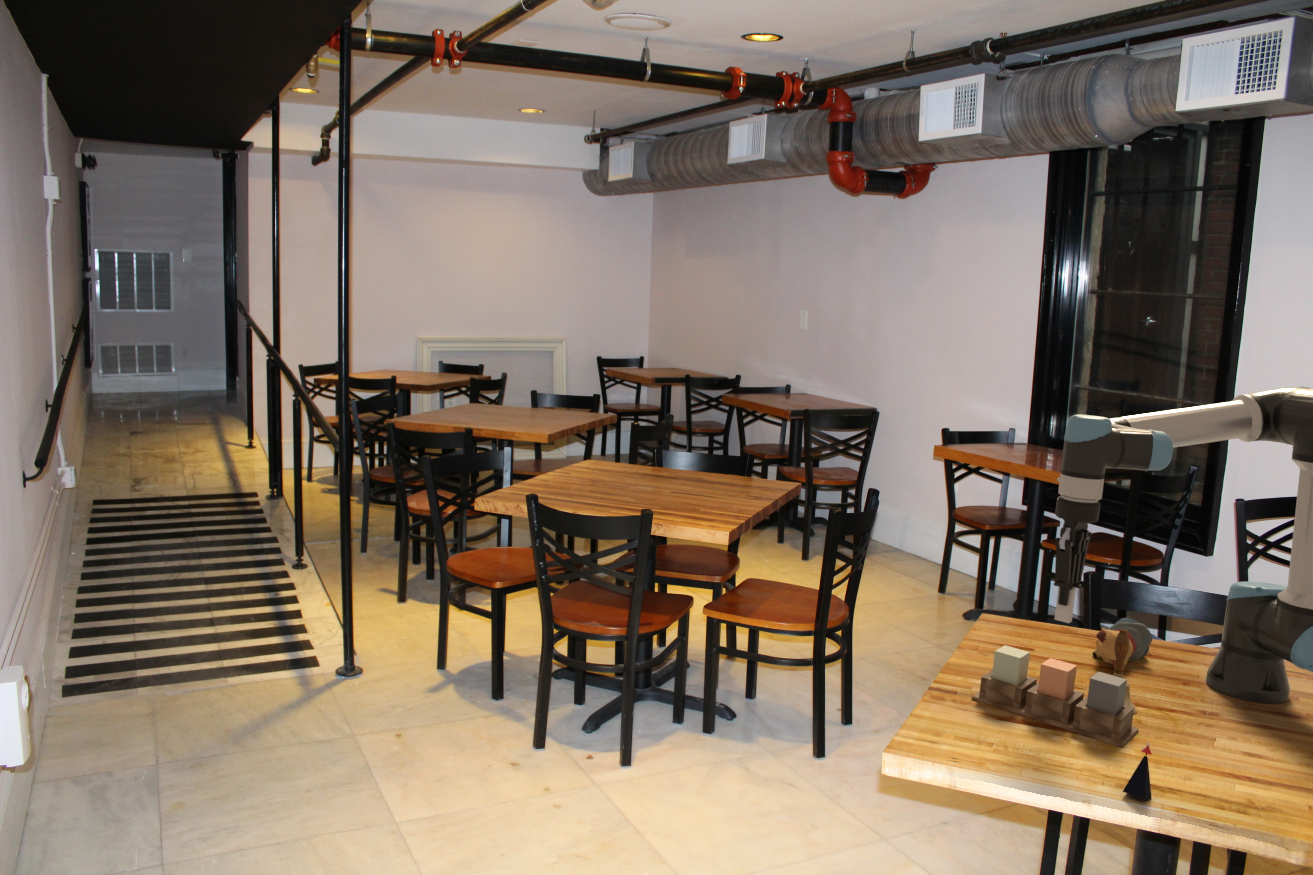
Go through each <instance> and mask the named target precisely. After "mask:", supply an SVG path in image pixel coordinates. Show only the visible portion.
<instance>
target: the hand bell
mask: <svg viewBox="0 0 1313 875" xmlns="http://www.w3.org/2000/svg"><path fill="white" fill-rule="evenodd" d="M1114 650H1115V656H1116V662H1115V668H1114V667H1113V668H1114V669H1113V676H1116V677H1120V678H1123V679H1124V669H1125V668H1124V661H1125V658H1126V656H1127V654H1128V650H1129V637H1128V632H1127V630H1126V629H1120V632H1119V634H1118V635H1117V637H1116V640H1115V646H1114ZM1130 693H1131V691H1130V682H1129V681H1128V680H1127V683H1126V691H1125V698H1124V705H1127V706H1130V707H1134V713H1133V716H1134V715H1136V713H1138V709H1137V707H1136V705H1135V704H1134V703H1133V701H1132V698H1131V694H1130Z"/></svg>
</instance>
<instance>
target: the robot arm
mask: <svg viewBox="0 0 1313 875" xmlns="http://www.w3.org/2000/svg"><path fill="white" fill-rule="evenodd" d="M1235 439H1236V440H1237V439H1238V440H1240V441H1242V442H1244V443H1245V442H1246V443H1250V442H1258V441H1260V442H1261V441H1262V442H1275V443H1281V444H1285V445H1290V446H1292V454H1291V460H1292V461H1293V463H1295V464H1296V466H1297V467H1298V468H1299V475H1298V486H1297V492H1296V503H1295V504H1296V505H1295V514H1294V521H1293V522H1294V524H1293V532H1292V541H1291V550H1290V559H1289V560H1290V561H1289V570H1288V578H1287V579H1288V580H1287V586H1286V585H1282V584H1277V583H1271V582H1270V583H1268V582H1261V581H1259V582H1258V581H1236V582H1234V583H1232V584H1231V585H1230V587H1229V590H1228V595H1227V597H1226V605H1225V612H1224V617H1223V618H1224V620H1223V628H1222V633H1221V634H1222V635H1221V640H1220V641H1221V642H1220V647H1219V650H1218V651H1217V653H1216V655H1215V656H1214V658H1213V660H1212V661H1211V663H1210V665H1209V667H1208V669H1207V671H1206V678H1205V682H1206V683H1207V684H1208V686H1209V687H1211V688H1212V689H1214V690H1216V691H1217V692H1220V693H1222V694H1225V695H1228V696H1230V697H1233V698H1235V699H1236V698H1237V699H1241V700H1245V701H1250V702H1256V703H1261V704H1283V703H1285V702H1288V701H1289V699H1290V697H1289V696H1290V691H1291V689H1290V688H1291V687H1290V683H1289V679H1288V674H1287V669H1286V665H1285V664H1286V663H1285V661H1287V662H1289V663H1291V664H1293V665H1294V666H1296V667H1297V668H1299V669H1302V670H1305V671H1309V672H1311V673H1313V388H1312V387H1304V386H1290V387H1283V388H1282V387H1281V388H1275V389H1270V390H1269V389H1268V390H1263V391H1258V392H1257V391H1256V392H1252V393H1245V394H1240V395H1237V396H1235V397H1234V398H1233V399H1232V400H1231V401H1225V402H1224V401H1223V402H1218V403H1209V404H1205V405H1204V404H1203V405H1198V406H1197V405H1196V406H1191V407H1183V408H1174V409H1167V410H1161V411H1155V412H1147V413H1141V414H1135V415H1134V414H1133V415H1127V416H1126V415H1125V416H1120V417H1112V418H1108V417H1105V416H1098V415H1089V414H1073V415H1071V416H1070V417H1069V418H1068V420H1067V425H1066V426H1065V432H1064V436H1063V440H1064V441H1063V442H1064V443H1063V449H1062V459H1061V467H1060V468H1061V469H1060V476H1059V477H1057V478H1056V481H1057V482H1058V483H1059V484H1058V495H1060V496H1058V497H1057V499H1056V504H1055V512H1054V514H1055V516H1056V517H1057V518H1059V519H1062V520H1063V526H1062V527H1061V528H1060V533H1059V534H1060V535H1059V537H1055V540H1054V541H1055V542H1054V543H1055V566H1054V568H1055V570H1054V572H1055V573H1054V582H1053V586H1055V587H1058V588H1057V597H1056V604H1055V605H1056V606H1055V612H1054V618H1053V619H1054V620H1055V621H1059V622H1062V623H1066V624H1070V623H1072V622H1073V614H1074V607H1075V600H1076V592H1077V589H1081V588H1082V586H1083V585H1082V584H1080V583H1081V582H1082V578H1083V573H1084V568H1085V562H1086V559H1087V553H1088V549H1089V544H1090V542H1091V538H1092V535H1093V534H1092V531H1089V530H1088V527H1089V524H1092V523H1097V522H1098V521H1099V518H1100V513H1101V512H1100V511H1101V505H1102V504H1101V503H1100V500H1102V498H1103V493H1104V492H1103V491H1104V481H1105V474H1106V469H1117V470H1118V469H1122V470H1136V471H1144V472H1148V471H1162V470H1164V469H1165V468H1167V467H1168V466H1169V465H1170V463H1171V461H1172V458H1173V452H1174V448H1178V447H1179V448H1180V447H1187V446H1192V445H1193V446H1194V445H1200V444H1201V445H1202V444H1207V443H1216V442H1222V441H1229V440H1235Z"/></svg>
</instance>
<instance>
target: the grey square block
mask: <svg viewBox="0 0 1313 875" xmlns="http://www.w3.org/2000/svg"><path fill="white" fill-rule="evenodd" d="M1113 675H1114V674H1113ZM1113 675H1112V674H1110V673H1109V674H1108V673H1105V672H1101V671H1097V672H1096V673H1095V674H1094V675H1093V676H1091V677H1090V678H1089V686H1088V692H1087V696H1088V698H1087V706H1086V707H1089V708H1092V709H1096V710H1099V711H1102V712H1105V713H1109V714H1112V715H1115V716H1116V715H1118V714H1119V713H1120V712H1121V711H1122V710H1123V705H1124V698H1125V691H1126V683H1127V681H1128V679H1126V678H1124V677H1123V678H1120V677H1116V676H1113Z"/></svg>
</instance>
